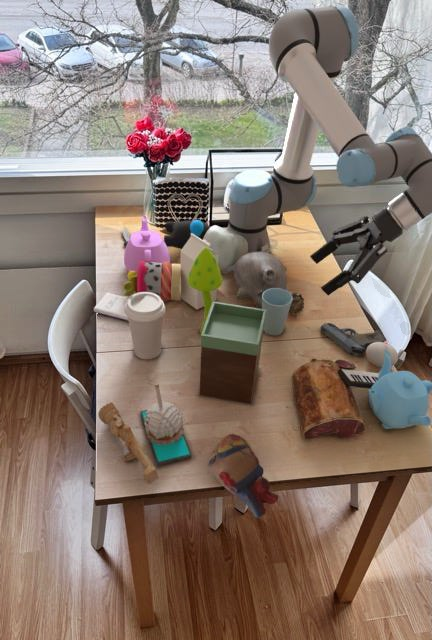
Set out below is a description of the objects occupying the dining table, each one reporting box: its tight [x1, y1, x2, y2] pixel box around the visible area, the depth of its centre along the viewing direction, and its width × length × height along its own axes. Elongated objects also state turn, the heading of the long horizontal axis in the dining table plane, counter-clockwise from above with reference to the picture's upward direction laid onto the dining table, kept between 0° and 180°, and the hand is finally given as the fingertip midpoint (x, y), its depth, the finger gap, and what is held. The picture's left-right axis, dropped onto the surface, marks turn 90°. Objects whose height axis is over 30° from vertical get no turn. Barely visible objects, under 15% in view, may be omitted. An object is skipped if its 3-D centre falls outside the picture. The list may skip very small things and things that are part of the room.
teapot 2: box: [367, 350, 432, 430], centre depth 120 cm, size 15×14×11 cm
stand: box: [199, 328, 264, 405], centre depth 124 cm, size 12×12×15 cm
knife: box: [121, 226, 131, 247], centre depth 172 cm, size 17×1×5 cm
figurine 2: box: [365, 340, 399, 368], centre depth 134 cm, size 8×6×7 cm
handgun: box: [320, 322, 388, 356], centre depth 142 cm, size 2×14×12 cm
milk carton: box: [180, 233, 218, 310], centre depth 146 cm, size 7×7×19 cm
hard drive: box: [93, 292, 130, 322], centre depth 147 cm, size 2×8×12 cm
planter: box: [203, 224, 248, 276], centre depth 159 cm, size 12×12×11 cm
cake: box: [122, 261, 181, 302], centre depth 148 cm, size 10×11×15 cm
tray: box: [200, 301, 267, 356], centre depth 118 cm, size 12×12×3 cm
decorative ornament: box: [143, 382, 185, 446], centre depth 112 cm, size 8×8×15 cm
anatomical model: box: [207, 433, 279, 519], centre depth 109 cm, size 9×13×15 cm
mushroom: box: [188, 248, 223, 334], centre depth 133 cm, size 8×8×25 cm
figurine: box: [98, 401, 159, 486], centre depth 111 cm, size 7×4×20 cm
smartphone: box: [140, 409, 192, 467], centre depth 117 cm, size 7×1×15 cm
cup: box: [262, 288, 293, 336], centre depth 141 cm, size 8×8×10 cm
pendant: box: [288, 292, 305, 318], centre depth 148 cm, size 5×8×5 cm
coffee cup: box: [124, 292, 167, 360], centre depth 131 cm, size 10×10×15 cm
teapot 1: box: [123, 215, 171, 273], centre depth 158 cm, size 20×13×12 cm, turn 9°
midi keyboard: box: [338, 368, 379, 390], centre depth 126 cm, size 18×1×5 cm
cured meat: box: [291, 357, 367, 439], centre depth 125 cm, size 18×25×7 cm
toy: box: [163, 219, 212, 250], centre depth 165 cm, size 9×11×15 cm
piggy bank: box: [224, 252, 292, 309], centre depth 152 cm, size 18×16×14 cm
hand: (318, 275), depth 133 cm, fingers open, 13 cm apart
